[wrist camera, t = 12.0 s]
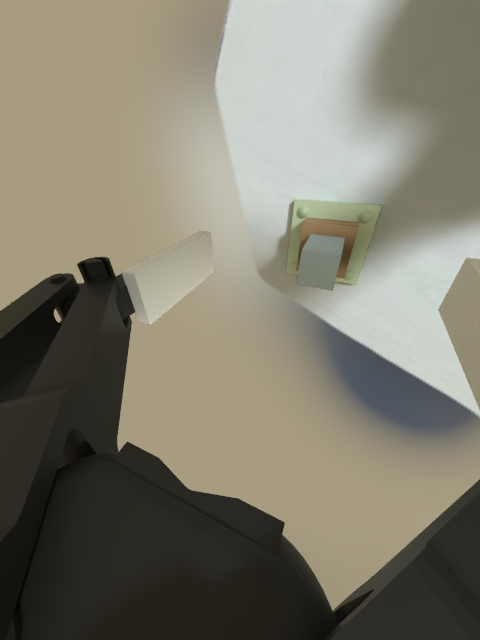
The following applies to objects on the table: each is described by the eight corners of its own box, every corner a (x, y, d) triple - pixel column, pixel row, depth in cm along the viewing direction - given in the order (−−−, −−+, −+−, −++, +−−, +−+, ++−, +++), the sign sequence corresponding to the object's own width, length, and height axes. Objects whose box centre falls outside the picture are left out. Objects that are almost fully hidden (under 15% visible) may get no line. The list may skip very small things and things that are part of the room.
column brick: (311, 233, 38) (301, 249, 32) (344, 237, 36) (341, 255, 30) (305, 264, 41) (296, 284, 34) (336, 268, 39) (332, 290, 33)
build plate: (295, 199, 40) (294, 200, 39) (381, 204, 36) (381, 206, 35) (286, 271, 48) (285, 273, 47) (356, 282, 44) (356, 285, 43)
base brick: (307, 217, 40) (303, 222, 37) (358, 222, 38) (358, 228, 35) (300, 262, 45) (295, 270, 42) (345, 269, 42) (344, 278, 39)
